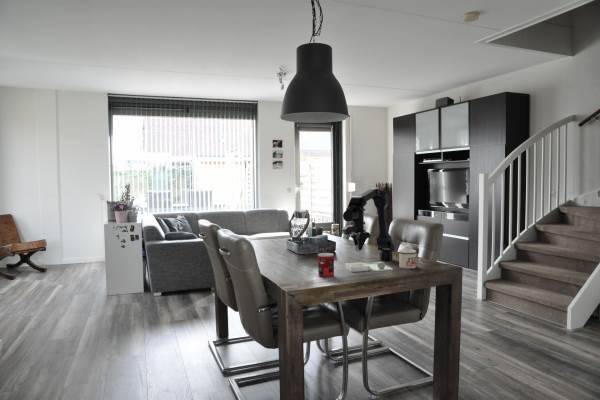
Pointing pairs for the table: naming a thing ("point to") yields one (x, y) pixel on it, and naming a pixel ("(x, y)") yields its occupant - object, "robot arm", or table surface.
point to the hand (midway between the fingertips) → (358, 249)
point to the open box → (357, 267)
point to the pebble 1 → (357, 248)
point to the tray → (375, 267)
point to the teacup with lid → (407, 258)
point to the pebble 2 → (381, 265)
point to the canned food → (326, 265)
